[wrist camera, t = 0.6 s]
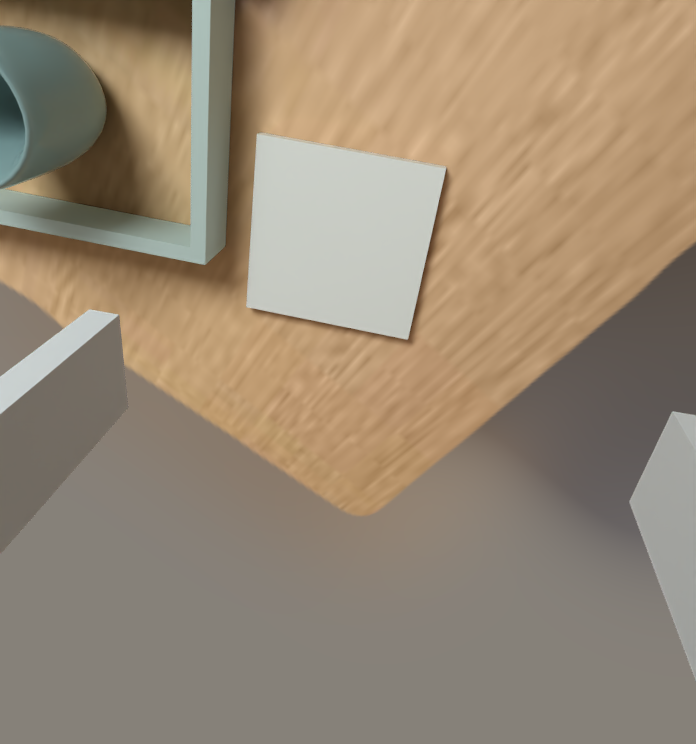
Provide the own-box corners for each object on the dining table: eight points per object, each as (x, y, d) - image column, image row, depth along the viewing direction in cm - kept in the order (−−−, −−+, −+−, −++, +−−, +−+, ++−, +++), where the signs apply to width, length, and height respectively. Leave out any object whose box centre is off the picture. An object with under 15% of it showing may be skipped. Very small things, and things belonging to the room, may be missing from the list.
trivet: (260, 132, 38) (256, 133, 37) (446, 166, 37) (446, 168, 36) (249, 302, 44) (246, 306, 43) (408, 334, 43) (407, 339, 42)
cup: (73, 181, 41) (-27, 220, 33) (-13, 79, 39) (-146, 92, 30) (148, 113, 38) (59, 136, 30) (60, -2, 36) (-65, -14, 27)
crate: (-122, -83, 35) (-185, -95, 32) (236, -23, 34) (211, -29, 30) (-65, 189, 43) (-109, 202, 40) (225, 245, 42) (205, 264, 38)
